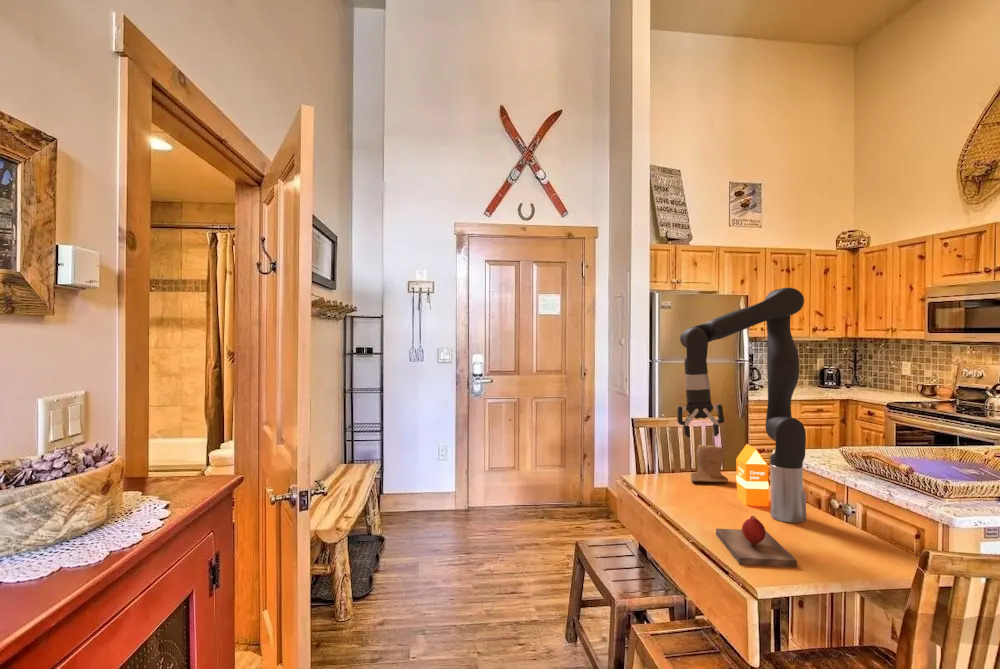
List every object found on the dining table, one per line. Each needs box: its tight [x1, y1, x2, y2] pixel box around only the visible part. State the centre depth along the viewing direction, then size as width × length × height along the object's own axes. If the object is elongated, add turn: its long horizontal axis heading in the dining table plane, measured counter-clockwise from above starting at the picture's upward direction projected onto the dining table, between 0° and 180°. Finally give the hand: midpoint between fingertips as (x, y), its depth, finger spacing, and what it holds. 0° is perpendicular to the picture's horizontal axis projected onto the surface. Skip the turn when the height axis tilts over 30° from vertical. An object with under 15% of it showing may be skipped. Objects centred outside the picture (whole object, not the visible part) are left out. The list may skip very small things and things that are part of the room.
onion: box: [741, 515, 767, 545], centre depth 135 cm, size 6×6×8 cm
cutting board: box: [715, 528, 798, 568], centre depth 136 cm, size 14×20×2 cm
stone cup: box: [690, 444, 729, 483], centre depth 204 cm, size 15×12×15 cm
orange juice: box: [735, 443, 770, 507], centre depth 177 cm, size 8×9×20 cm
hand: (701, 436), depth 162 cm, fingers open, 8 cm apart
